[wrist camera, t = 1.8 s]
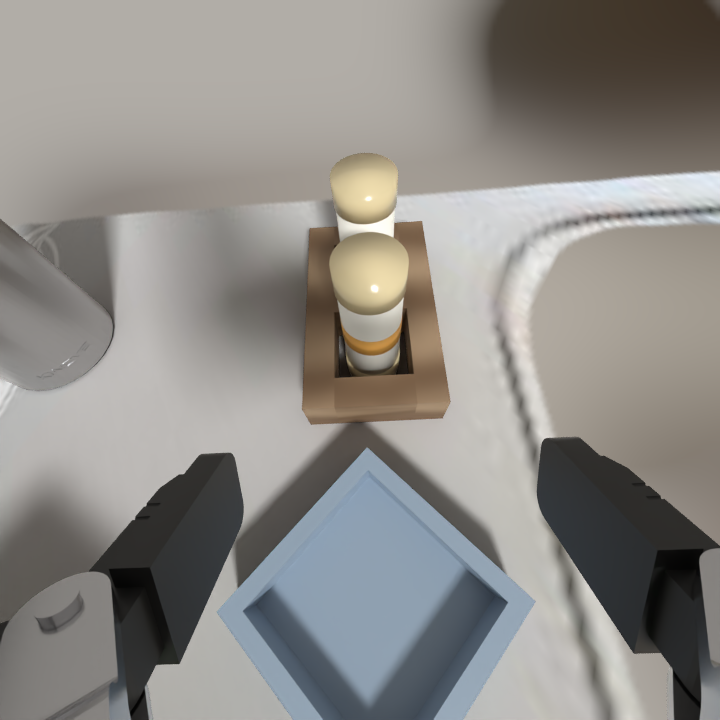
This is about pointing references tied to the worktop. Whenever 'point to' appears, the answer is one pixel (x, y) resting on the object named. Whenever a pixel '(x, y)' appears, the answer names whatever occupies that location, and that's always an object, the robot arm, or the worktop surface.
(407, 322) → the fuse holder
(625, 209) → the worktop surface
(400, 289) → the cylinder
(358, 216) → the cylinder
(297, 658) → the tray
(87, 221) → the worktop surface
